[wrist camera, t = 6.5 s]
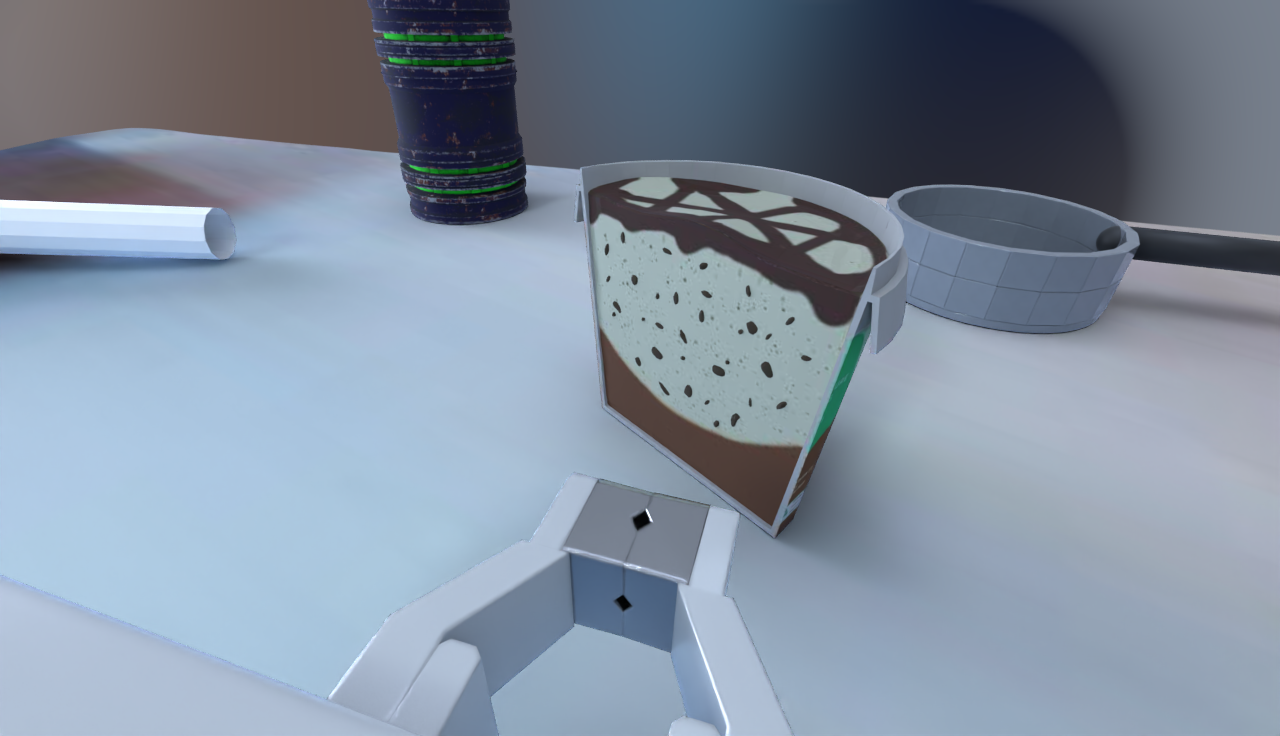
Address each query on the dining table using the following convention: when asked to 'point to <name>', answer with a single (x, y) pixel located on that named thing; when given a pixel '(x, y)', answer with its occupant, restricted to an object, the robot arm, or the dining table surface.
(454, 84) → the storage jar
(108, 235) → the frying pan
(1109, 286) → the saucepan
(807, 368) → the food container
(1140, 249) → the saucepan handle
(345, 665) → the dining table surface
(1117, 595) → the dining table surface
